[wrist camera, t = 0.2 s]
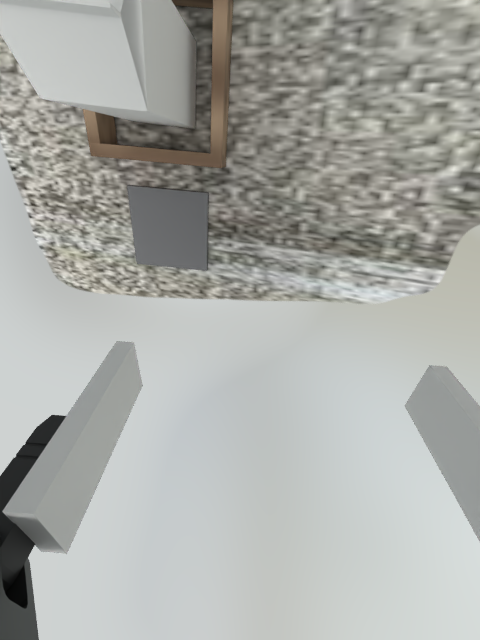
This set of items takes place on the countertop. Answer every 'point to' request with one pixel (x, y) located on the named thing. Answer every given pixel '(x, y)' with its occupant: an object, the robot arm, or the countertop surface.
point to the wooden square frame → (222, 3)
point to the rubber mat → (169, 226)
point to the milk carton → (107, 56)
